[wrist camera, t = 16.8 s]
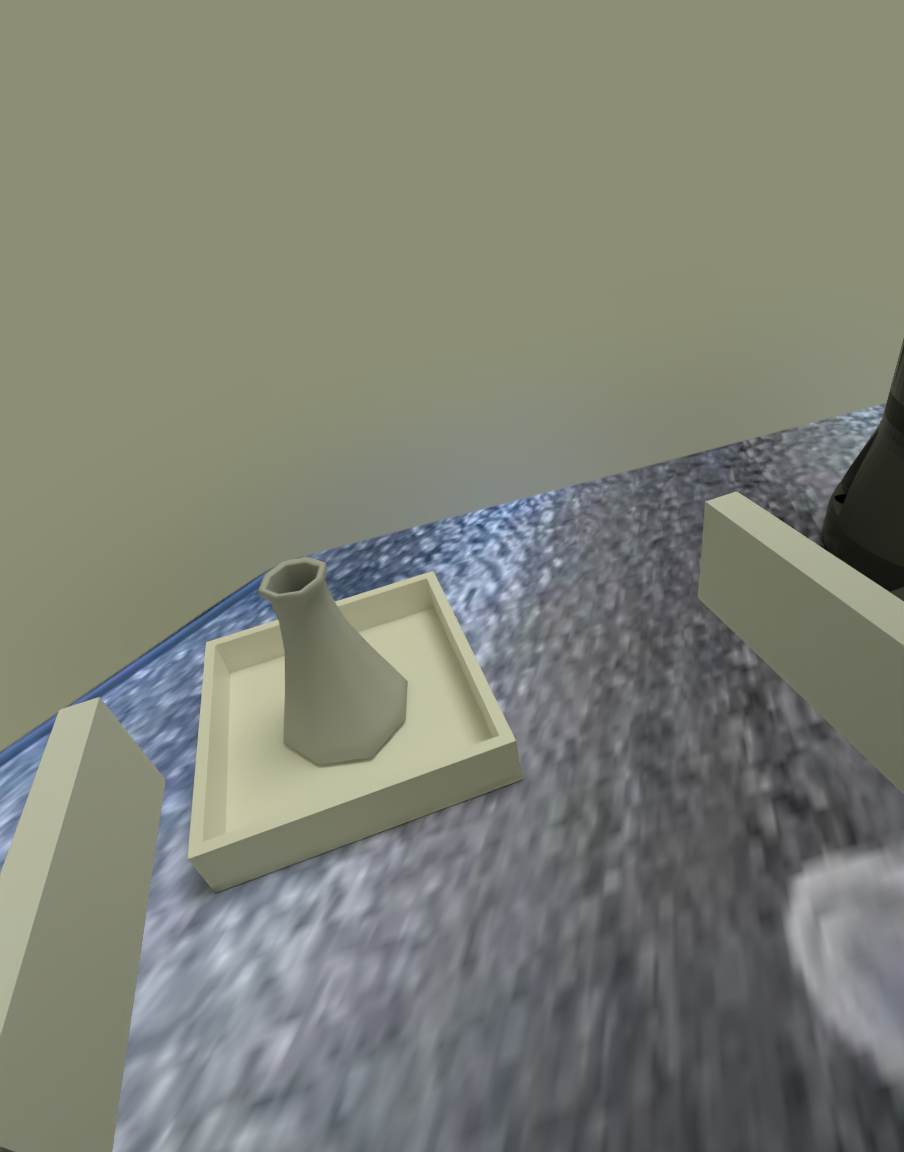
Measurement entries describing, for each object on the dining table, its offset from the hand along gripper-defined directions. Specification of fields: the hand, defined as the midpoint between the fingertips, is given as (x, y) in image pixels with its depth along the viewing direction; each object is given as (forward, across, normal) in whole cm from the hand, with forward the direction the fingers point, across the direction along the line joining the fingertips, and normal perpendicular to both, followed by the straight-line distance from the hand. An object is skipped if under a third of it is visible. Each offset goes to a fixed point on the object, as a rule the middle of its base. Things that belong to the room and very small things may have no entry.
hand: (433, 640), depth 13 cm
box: (+15, -5, -17) cm, 23 cm away
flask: (+15, -5, -17) cm, 23 cm away
